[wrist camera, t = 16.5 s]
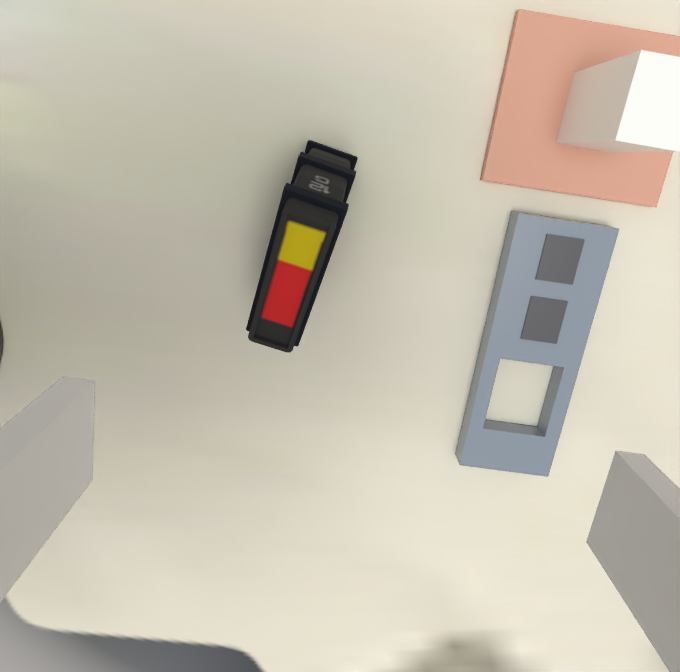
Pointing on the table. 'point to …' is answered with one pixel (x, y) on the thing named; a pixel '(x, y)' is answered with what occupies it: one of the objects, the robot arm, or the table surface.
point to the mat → (548, 108)
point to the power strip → (535, 334)
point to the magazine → (301, 245)
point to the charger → (625, 105)
